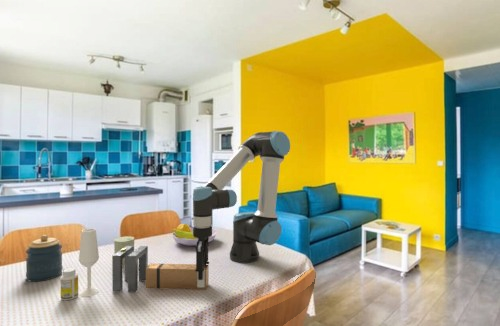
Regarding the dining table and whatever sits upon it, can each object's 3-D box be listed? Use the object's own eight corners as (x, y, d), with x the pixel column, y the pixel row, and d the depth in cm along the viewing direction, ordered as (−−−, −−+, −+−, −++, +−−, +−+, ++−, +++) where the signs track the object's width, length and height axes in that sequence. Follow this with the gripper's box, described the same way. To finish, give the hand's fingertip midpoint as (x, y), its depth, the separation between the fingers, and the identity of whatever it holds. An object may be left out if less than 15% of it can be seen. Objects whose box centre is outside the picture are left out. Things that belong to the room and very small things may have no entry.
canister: (39, 284, 118) (39, 240, 117) (18, 279, 122) (17, 237, 122) (69, 272, 130) (69, 232, 130) (49, 267, 135) (48, 229, 134)
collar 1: (133, 278, 124) (133, 244, 123) (120, 291, 112) (120, 254, 111) (126, 278, 124) (126, 244, 124) (112, 291, 112) (112, 254, 112)
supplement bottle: (75, 292, 111) (74, 265, 111) (80, 296, 108) (80, 269, 107) (58, 297, 107) (58, 270, 107) (63, 302, 104) (63, 274, 103)
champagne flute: (97, 295, 109) (96, 231, 108) (76, 297, 107) (76, 232, 106) (100, 287, 115) (100, 227, 115) (81, 289, 114) (81, 228, 113)
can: (127, 266, 137) (127, 241, 136) (109, 265, 139) (109, 240, 138) (138, 259, 146) (138, 235, 146) (122, 258, 148) (121, 234, 147)
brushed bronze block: (208, 284, 119) (208, 264, 119) (206, 289, 114) (206, 269, 114) (150, 282, 120) (150, 263, 120) (145, 288, 115) (145, 268, 115)
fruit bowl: (204, 234, 193) (204, 217, 193) (224, 244, 171) (224, 225, 171) (162, 241, 178) (162, 222, 177) (178, 253, 155) (178, 232, 155)
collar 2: (147, 278, 124) (147, 246, 123) (135, 292, 112) (135, 256, 111) (140, 278, 124) (140, 246, 123) (127, 292, 112) (127, 255, 111)
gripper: (198, 220, 125) (197, 274, 126) (187, 231, 107) (187, 294, 108) (215, 220, 125) (215, 274, 126) (207, 232, 107) (207, 294, 108)
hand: (202, 283), depth 117 cm, fingers closed on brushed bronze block, 5 cm apart
